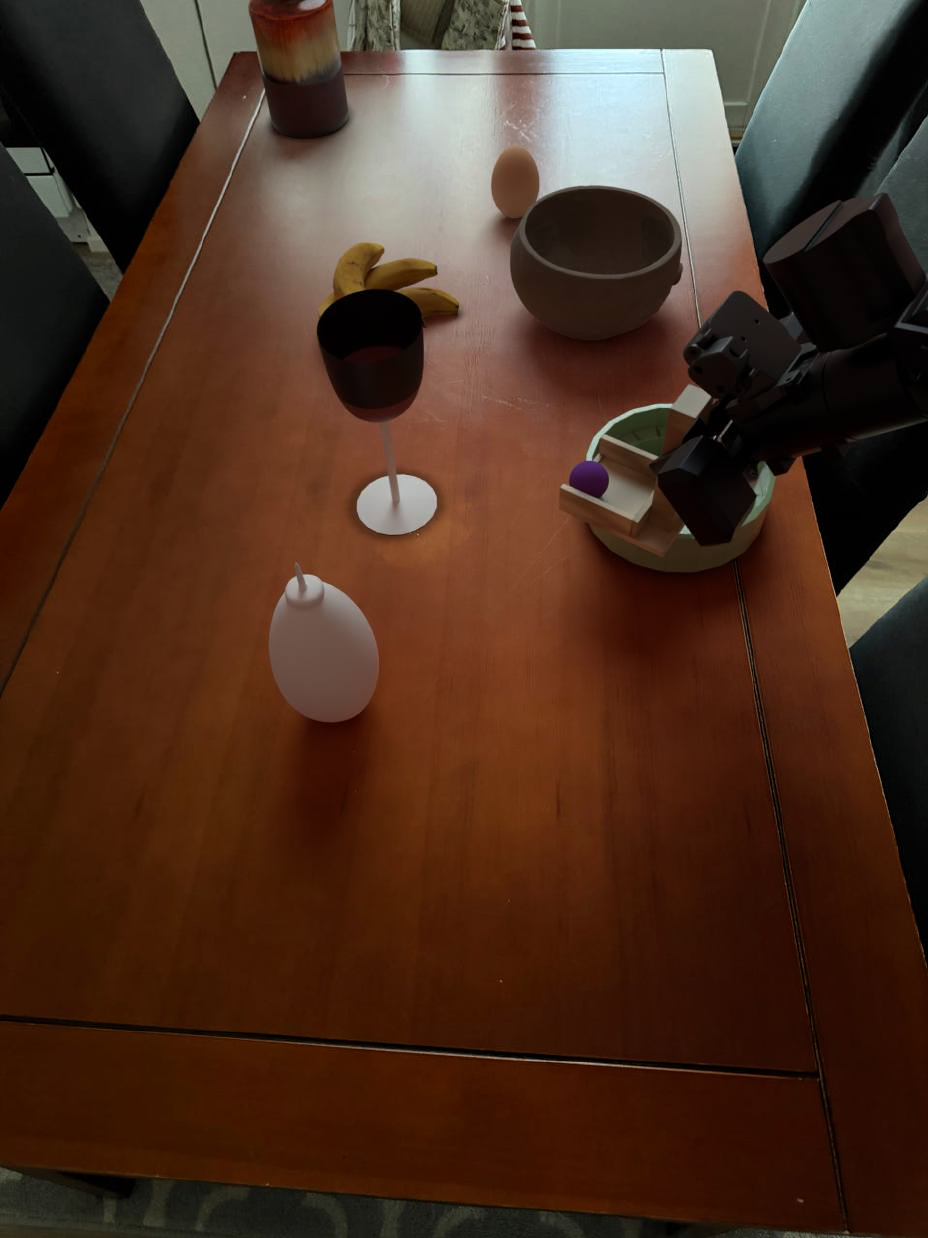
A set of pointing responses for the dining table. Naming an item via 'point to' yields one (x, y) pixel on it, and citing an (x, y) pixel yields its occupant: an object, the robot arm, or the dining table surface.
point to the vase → (300, 65)
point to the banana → (388, 279)
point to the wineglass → (379, 392)
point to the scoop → (638, 483)
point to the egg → (515, 182)
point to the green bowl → (685, 552)
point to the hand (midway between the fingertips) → (662, 455)
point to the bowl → (595, 260)
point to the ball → (589, 478)
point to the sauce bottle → (322, 651)
